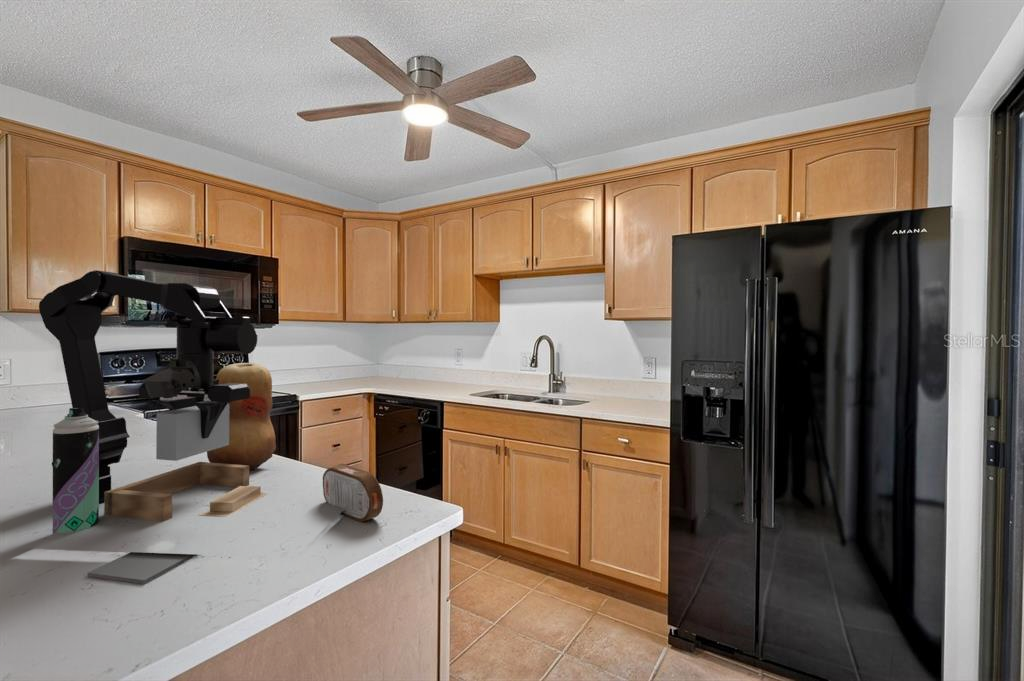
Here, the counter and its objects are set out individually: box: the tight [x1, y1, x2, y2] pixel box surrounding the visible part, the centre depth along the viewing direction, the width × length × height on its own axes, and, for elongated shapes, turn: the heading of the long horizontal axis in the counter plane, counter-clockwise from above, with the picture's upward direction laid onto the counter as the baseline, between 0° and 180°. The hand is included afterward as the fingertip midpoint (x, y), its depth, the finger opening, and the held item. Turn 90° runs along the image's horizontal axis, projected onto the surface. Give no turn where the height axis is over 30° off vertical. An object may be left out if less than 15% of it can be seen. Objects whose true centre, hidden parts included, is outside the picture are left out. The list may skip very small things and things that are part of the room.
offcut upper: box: [209, 485, 262, 512], centre depth 88 cm, size 4×9×2 cm, turn 179°
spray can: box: [52, 407, 100, 535], centre depth 77 cm, size 6×6×20 cm
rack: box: [103, 461, 250, 523], centre depth 90 cm, size 12×20×5 cm, turn 169°
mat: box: [86, 551, 198, 585], centre depth 71 cm, size 9×17×1 cm, turn 169°
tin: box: [322, 463, 384, 523], centre depth 87 cm, size 15×3×8 cm, turn 53°
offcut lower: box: [198, 492, 269, 518], centre depth 88 cm, size 5×12×2 cm, turn 174°
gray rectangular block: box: [155, 404, 229, 462], centre depth 89 cm, size 4×12×8 cm, turn 170°
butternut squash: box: [206, 362, 277, 471], centre depth 111 cm, size 14×13×25 cm
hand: (194, 437), depth 89 cm, fingers closed on gray rectangular block, 4 cm apart
